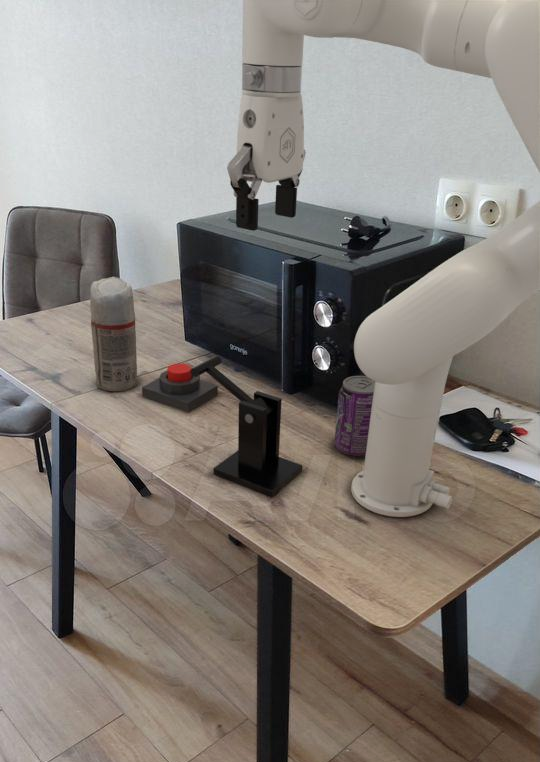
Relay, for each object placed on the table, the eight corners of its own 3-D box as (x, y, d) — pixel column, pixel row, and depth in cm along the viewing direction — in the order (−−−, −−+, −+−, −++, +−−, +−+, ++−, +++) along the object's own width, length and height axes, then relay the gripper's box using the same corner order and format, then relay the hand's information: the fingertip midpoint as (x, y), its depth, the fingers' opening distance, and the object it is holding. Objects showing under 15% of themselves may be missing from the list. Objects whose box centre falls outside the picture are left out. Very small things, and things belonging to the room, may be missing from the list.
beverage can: (344, 433, 123) (351, 370, 116) (382, 445, 120) (391, 381, 113) (326, 451, 118) (332, 386, 111) (365, 463, 115) (373, 397, 108)
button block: (217, 394, 134) (217, 375, 132) (188, 412, 128) (187, 392, 125) (172, 380, 139) (172, 361, 137) (142, 396, 132) (140, 377, 130)
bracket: (213, 474, 111) (212, 401, 104) (245, 450, 117) (246, 380, 110) (272, 497, 106) (275, 422, 99) (302, 471, 112) (307, 399, 105)
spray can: (144, 376, 140) (137, 276, 129) (134, 394, 133) (125, 290, 122) (103, 372, 140) (92, 273, 129) (90, 390, 134) (78, 287, 123)
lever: (188, 375, 106) (193, 363, 104) (212, 362, 110) (217, 351, 109) (252, 430, 104) (258, 419, 102) (274, 415, 108) (280, 404, 106)
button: (196, 377, 132) (195, 367, 131) (181, 385, 129) (181, 375, 128) (177, 371, 134) (177, 361, 133) (162, 379, 131) (162, 369, 129)
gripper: (258, 87, 81) (254, 239, 90) (330, 81, 93) (320, 215, 103) (206, 82, 84) (207, 229, 94) (282, 77, 96) (277, 207, 106)
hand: (266, 222), depth 98 cm, fingers open, 9 cm apart
